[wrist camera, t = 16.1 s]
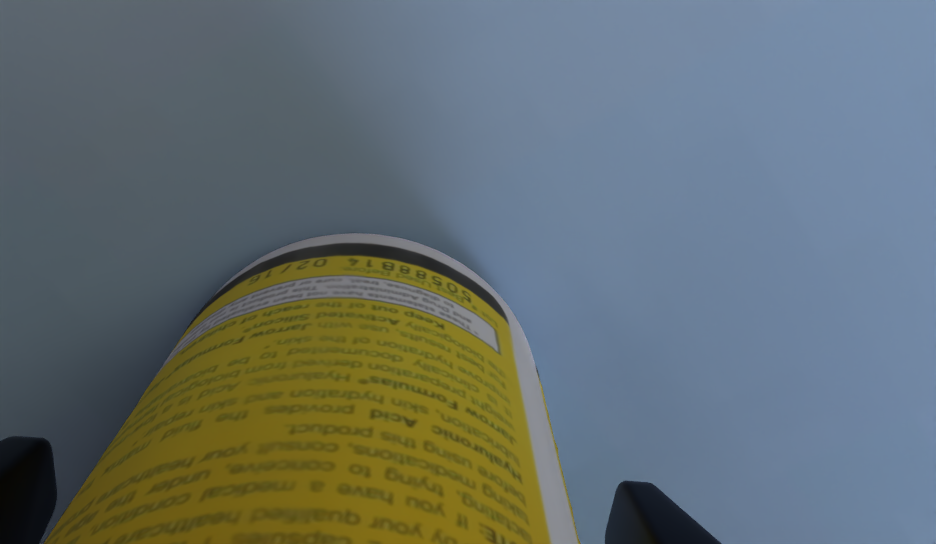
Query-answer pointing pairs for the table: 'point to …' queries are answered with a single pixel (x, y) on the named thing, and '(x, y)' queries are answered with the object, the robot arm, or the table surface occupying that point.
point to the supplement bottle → (337, 414)
